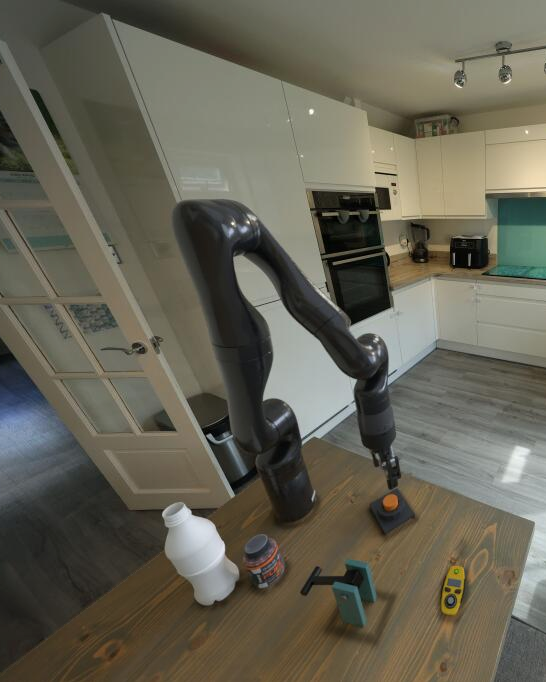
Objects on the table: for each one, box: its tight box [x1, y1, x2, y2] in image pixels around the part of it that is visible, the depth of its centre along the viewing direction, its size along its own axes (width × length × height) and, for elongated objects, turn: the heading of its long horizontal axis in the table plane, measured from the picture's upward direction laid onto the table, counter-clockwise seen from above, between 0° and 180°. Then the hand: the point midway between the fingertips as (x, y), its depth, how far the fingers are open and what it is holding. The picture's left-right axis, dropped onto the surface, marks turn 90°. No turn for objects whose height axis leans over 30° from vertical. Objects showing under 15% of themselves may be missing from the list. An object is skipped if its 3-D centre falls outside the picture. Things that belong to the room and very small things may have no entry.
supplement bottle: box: [242, 533, 286, 589], centre depth 65 cm, size 6×6×11 cm
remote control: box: [440, 565, 466, 616], centre depth 67 cm, size 5×2×15 cm
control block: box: [368, 487, 416, 536], centre depth 80 cm, size 10×8×4 cm
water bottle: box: [161, 501, 240, 606], centre depth 60 cm, size 7×7×25 cm
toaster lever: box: [299, 565, 364, 597], centre depth 59 cm, size 12×4×2 cm, turn 79°
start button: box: [383, 494, 398, 511], centre depth 79 cm, size 4×4×2 cm
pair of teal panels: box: [331, 558, 378, 628], centre depth 59 cm, size 10×7×13 cm
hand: (385, 475), depth 75 cm, fingers open, 8 cm apart
